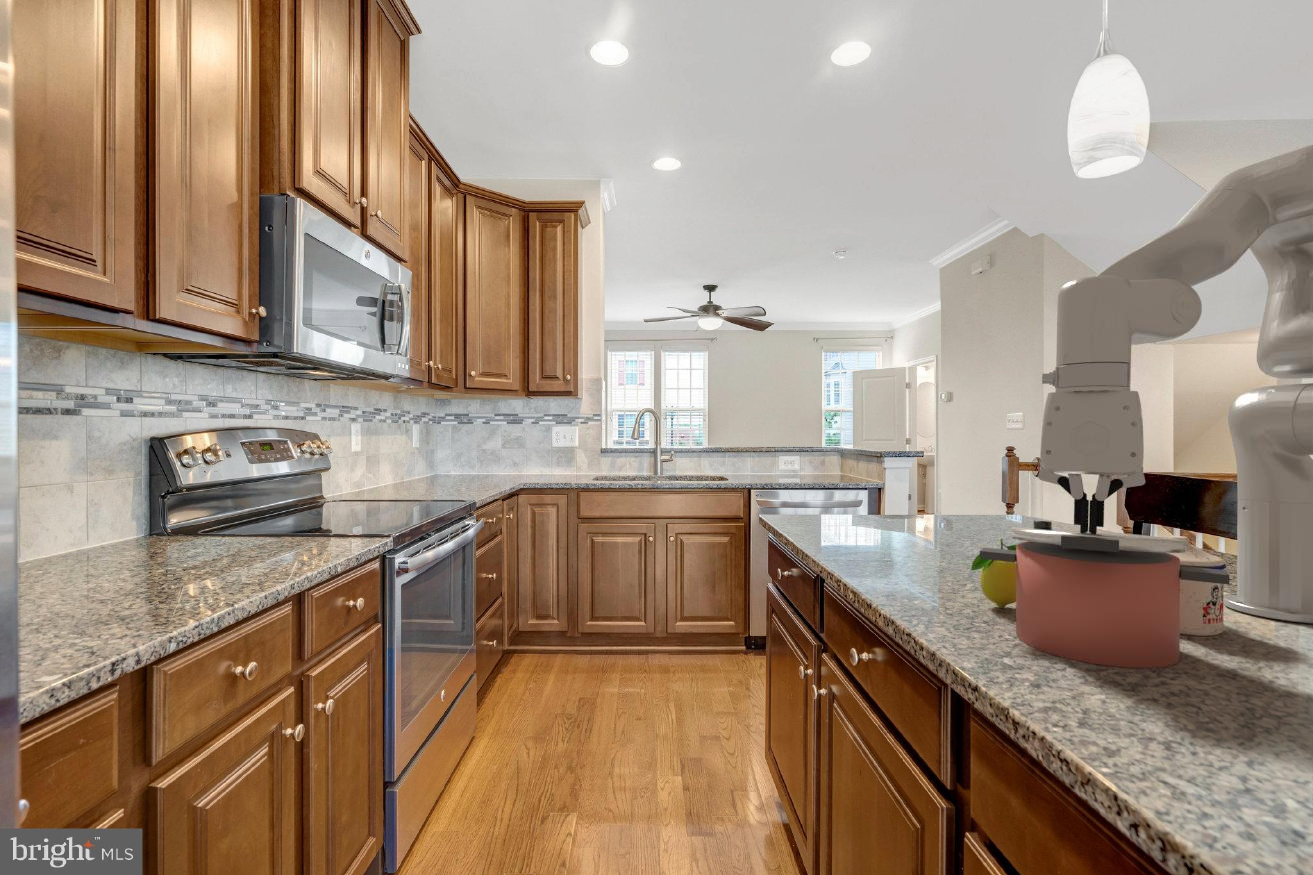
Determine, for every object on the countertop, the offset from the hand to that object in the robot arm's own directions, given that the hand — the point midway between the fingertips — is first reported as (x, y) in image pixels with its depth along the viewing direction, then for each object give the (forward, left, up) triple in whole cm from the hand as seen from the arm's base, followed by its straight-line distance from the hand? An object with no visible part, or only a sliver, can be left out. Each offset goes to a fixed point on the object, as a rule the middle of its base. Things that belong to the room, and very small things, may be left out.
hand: (1088, 531), depth 77 cm
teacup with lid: (-15, +10, -13) cm, 22 cm away
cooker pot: (+1, +1, -13) cm, 13 cm away
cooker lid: (+3, +1, -1) cm, 3 cm away
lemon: (-10, -10, -13) cm, 20 cm away
